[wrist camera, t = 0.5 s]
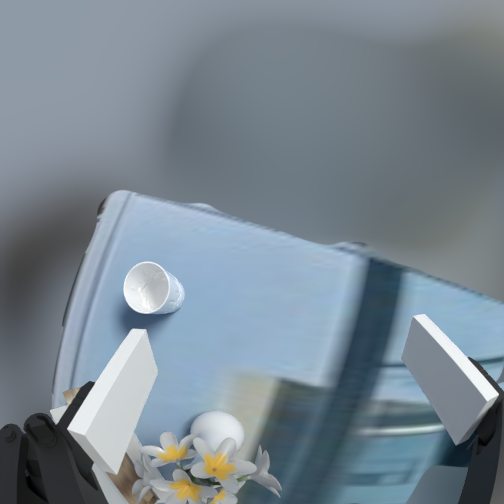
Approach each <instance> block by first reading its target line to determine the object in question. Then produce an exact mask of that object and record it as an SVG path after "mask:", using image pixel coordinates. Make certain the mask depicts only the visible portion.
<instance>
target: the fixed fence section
mask: <svg viewBox="0 0 504 504" xmlns="http://www.w3.org/2000/svg"><path fill="white" fill-rule="evenodd" d="M105 472H106V471H105ZM106 473H107V475H108V476H109V478H110V479H111V480H112V482H113V483H114V485H115V486H116V487H117V489H118V490H119V491H120V493H121V494H122V495H123V497H124V498H125V499H126V500H127V502H128V503H129V504H137V497H138V494H139V493H140V492H138V493H136V494H132V488H133V485H134V483H135V482H136V481H137V480H139V479H141V478H140V477H139V476H138V475H137V474H136V471H135V469H134V468H133V466H132V465H131V463H130V462H129V460H128V459H127V457H126V456H125V455H124V458H123V460H122V463H121V466H120V468H119V471H118V474H117V475H115V474H112V473H109V472H106ZM156 501H157V498H156V497H155V496H154V495H153V494H152V492H151V491H150V490H149V491H148V492H147V493H146V494H145V495H144V496H143V498H142V499H141V500H140V502H139V503H138V504H155V503H156Z"/></svg>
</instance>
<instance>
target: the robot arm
mask: <svg viewBox="0 0 504 504" xmlns="http://www.w3.org/2000/svg"><path fill="white" fill-rule="evenodd" d="M401 359H402V361H403V362H404V363H405V365H406V366H407V368H408V369H409V371H410V372H411V374H412V375H413V377H414V378H415V380H416V381H417V383H418V384H419V386H420V388H421V389H422V391H423V392H424V394H425V395H426V397H427V398H428V400H429V402H430V403H431V405H432V406H433V408H434V410H435V411H436V413H437V415H438V416H439V418H440V419H441V421H442V423H443V424H444V426H445V428H446V430H447V431H448V433H449V435H450V436H451V438H452V440H453V442H454V443H455V445H458V444H460V443H462V442H464V441H466V440H468V439H469V438H470V436H471V435H472V434H473V433H474V431H476V433H477V436H476V437H475V438H474V440H473V441H472V442H471V443H470V445H469V446H468V447H467V449H466V451H468V450H469V449H470V448H471V447H472V445H473V449H472V450H471V451H472V455H471V460H470V464H469V468H468V472H467V476H466V480H465V484H464V487H463V490H462V493H461V496H460V500H459V503H458V504H504V391H503V390H502V389H501V388H500V387H499V385H498V384H497V383H496V382H495V381H494V380H493V378H492V377H491V376H490V375H488V373H487V372H486V371H485V370H483V367H482V366H481V365H480V364H479V363H478V362H477V361H475V360H473V359H472V358H470V357H468V358H467V357H466V356H465V355H464V354H463V353H462V352H461V351H460V350H459V349H458V348H457V347H456V345H455V344H454V343H453V342H452V341H451V340H450V339H449V338H448V337H447V336H446V335H445V334H444V333H443V332H442V331H441V330H440V329H439V328H438V327H437V326H436V325H435V324H434V323H433V322H432V321H431V320H430V319H429V318H428V317H427V316H426V315H425V314H422V315H416V316H413V318H412V322H411V326H410V330H409V334H408V337H407V341H406V344H405V348H404V351H403V354H402V358H401ZM157 374H158V370H157V367H156V363H155V360H154V357H153V353H152V350H151V346H150V342H149V339H148V335H147V331H146V329H132V330H131V331H130V333H129V334H128V335H127V337H126V338H125V340H124V341H123V343H122V344H121V346H120V347H119V348H118V350H117V351H116V353H115V354H114V356H113V357H112V359H111V360H110V362H109V363H108V365H107V366H106V368H105V369H104V371H103V372H102V374H101V375H100V377H99V378H98V380H97V381H96V382H91V381H89V382H88V383H86V384H85V385H84V386H82V387H81V388H80V390H79V391H78V393H77V394H76V396H75V398H74V399H73V400H72V402H71V404H70V405H69V406H68V408H67V409H66V411H65V412H64V414H63V415H62V417H61V419H60V420H59V422H58V423H57V425H55V423H54V422H53V420H52V419H51V418H50V417H49V416H48V415H47V414H43V413H36V414H34V415H31V416H30V417H29V418H28V419H27V420H26V422H25V423H24V430H25V432H26V433H27V434H25V433H23V431H22V430H21V429H20V428H19V427H18V426H17V425H15V424H7V425H5V426H4V427H3V428H2V429H1V430H0V504H109V503H108V501H107V499H106V497H105V495H104V493H103V491H102V489H101V487H100V484H99V482H98V480H97V477H96V475H95V473H94V471H93V470H92V466H93V464H94V463H95V464H96V465H97V467H98V468H99V469H100V470H103V471H106V472H109V473H112V474H115V475H117V474H118V471H119V468H120V466H121V463H122V460H123V458H124V455H125V452H126V450H127V447H128V445H129V442H130V440H131V437H132V435H133V432H134V430H135V427H136V425H137V422H138V420H139V417H140V415H141V412H142V410H143V407H144V405H145V403H146V400H147V398H148V395H149V393H150V391H151V388H152V386H153V384H154V381H155V379H156V377H157Z"/></svg>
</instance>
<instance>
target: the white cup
mask: <svg viewBox="0 0 504 504" xmlns="http://www.w3.org/2000/svg"><path fill="white" fill-rule="evenodd" d="M123 291H124V296H125V299H126V301H127V303H128V305H129V306H130V307H131V308H132V309H133V310H135V311H136V312H139V313H142V314H166V313H172V312H175V311H176V310H178V309H179V308H180V307H181V305H182V303H183V302H184V296H185V291H184V289H183V286H182V284H181V283H180V282H179V281H178V280H177V279H176V278H175V277H174V276H173V275H171V274H170V273H169V272H168V271H166V270H165V269H163V268H162V267H161V266H160V265H158V264H156V263H153V262H142V263H139V264H137V265H135V266H134V267H133V268H132V269H131V270H130V271H129V272H128V274H127V276H126V278H125V281H124V287H123Z"/></svg>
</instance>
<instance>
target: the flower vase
mask: <svg viewBox="0 0 504 504" xmlns="http://www.w3.org/2000/svg"><path fill="white" fill-rule="evenodd" d="M244 440H245V432H244V429H243V426H242V425H241V424H240V422H239V421H238V420H237V419H236V418H235V417H234V416H232V415H230V414H228V413H225V412H221V411H209V412H205V413H203V414H201V415H199V416H198V417H197V418H196V419H195V420H194V421H193V423H192V425H191V429H190V435H188V436H186V437H184V438H183V439H182V440H181V441H180V445H178V441H177V439H176V437H175V435H174V434H173V433H171V432H163V433H162V434H161V436H160V443H161V446H162V448H163V450H162V449H161V448H160V447H157V446H143V447H140V448H138V451H139V452H140V453H141V461H142V464H143V465H142V464H141V463H140V462H139V461H138V460H135V463H134V465H135V471H136V474H137V475H138V476H139V477H141V478H143V479H139V480H137V481H136V482H135V483H134V485H133V488H132V494H136V493H138V492H140V493H139V494H138V497H137V504H138V503H139V502H140V500H141V499H142V498H143V496H144V495H145V494H146V493H147V492H148V491H149V490H150V489H151V488H152V487H154V488H156V489H158V490H160V491H163V492H173V491H174V492H173V493H172V494H170V496H169V497H168V498H167V499H166V501H165V504H205V503H204V501H203V500H202V498H201V497H203V498H208V499H207V503H206V504H236V503H237V501H238V500H237V498H236V497H235V496H234V495H231V494H229V493H237V492H238V490H239V488H241V487H242V486H243V485H244V483H245V482H246V480H249V479H252V480H254V481H256V482H258V483H260V484H261V485H263V486H264V487H266V488H267V489H269V490H270V491H272V492H273V493H274V494H276V495H277V496H278V497H280V495H279V494H278V492H277V491H276V490H275V489H277V490H280V491H281V490H282V489H281V486H280V484H279V483H278V481H277V480H276V479H275V478H274V477H273V476H272V475H270V474H268V473H267V470H268V469H269V456H268V453H267V451H266V450H265V451H264V453H263V455H262V452H261V447H260V445H259V450H258V454H257V459H256V462H255V465H254V464H253V463H251V462H249V461H245V460H233V461H231V459H232V458H233V457H234V455H235V453H236V452H238V451H239V450H240V448H241V447H242V445H243V443H244ZM193 444H194V447H195V449H196V450H193V449H190V448H191V446H192V445H193ZM144 454H146V455H149V456H153V457H156V458H155V459H153V460H152V461H151V463H150V465H151V466H152V467H159V466H163V465H166V464H170V463H176V465H177V466H178V468H179V469H175V470H174V471H173V474H172V477H173V480H174V481H166V480H160V479H156V478H155V476H154V474H153V473H152V471H151V469H150V467H149V465H148V463H147V460H146V458H145V455H144ZM193 457H195V458H194V459H193V461H192V462H191V463H190V464H188V465H185V466H183V467H182V466H181V463H180V461H182V460H185V459H190V458H193ZM229 461H230V462H229ZM244 474H250V475H249V476H245V477H242V478H238V479H236V478H235V477H234V476H232V475H244ZM215 478H216V479H217V480H218V481H219V482H215ZM214 485H222V486H221V487H218V488H215V489H214V488H212V487H213V486H214ZM274 488H275V489H274ZM226 492H229V493H226Z"/></svg>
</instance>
